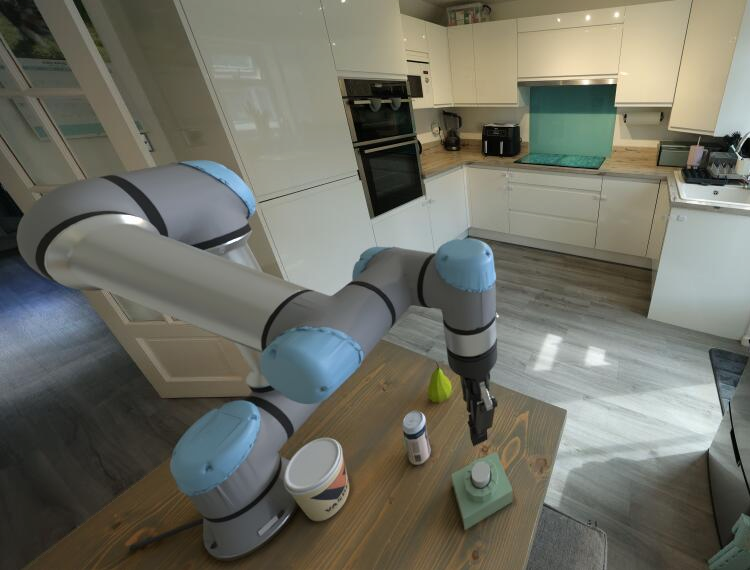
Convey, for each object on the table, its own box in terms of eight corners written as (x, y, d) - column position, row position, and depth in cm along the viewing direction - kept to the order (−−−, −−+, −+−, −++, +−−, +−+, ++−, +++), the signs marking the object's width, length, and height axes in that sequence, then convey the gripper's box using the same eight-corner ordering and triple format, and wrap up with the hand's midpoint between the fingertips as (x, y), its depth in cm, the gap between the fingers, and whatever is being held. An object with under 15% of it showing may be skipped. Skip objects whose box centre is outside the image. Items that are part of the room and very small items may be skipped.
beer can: (435, 450, 70) (429, 416, 65) (419, 470, 67) (412, 435, 62) (420, 439, 73) (414, 404, 68) (404, 457, 69) (396, 422, 64)
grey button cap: (475, 492, 59) (475, 486, 58) (469, 472, 61) (468, 466, 61) (493, 482, 60) (492, 476, 59) (486, 464, 63) (485, 458, 62)
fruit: (438, 412, 79) (433, 379, 74) (423, 398, 82) (418, 365, 77) (457, 395, 83) (454, 363, 78) (443, 382, 87) (439, 350, 82)
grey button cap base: (464, 530, 58) (462, 513, 55) (452, 485, 64) (450, 468, 62) (512, 501, 62) (512, 484, 59) (496, 462, 68) (496, 445, 66)
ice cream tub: (332, 533, 57) (315, 497, 52) (289, 520, 59) (268, 484, 54) (363, 476, 66) (351, 441, 61) (325, 466, 67) (310, 431, 62)
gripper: (513, 362, 42) (513, 464, 52) (479, 307, 53) (484, 400, 63) (461, 383, 39) (471, 488, 49) (435, 320, 50) (448, 416, 60)
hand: (479, 439), depth 56 cm, fingers closed
